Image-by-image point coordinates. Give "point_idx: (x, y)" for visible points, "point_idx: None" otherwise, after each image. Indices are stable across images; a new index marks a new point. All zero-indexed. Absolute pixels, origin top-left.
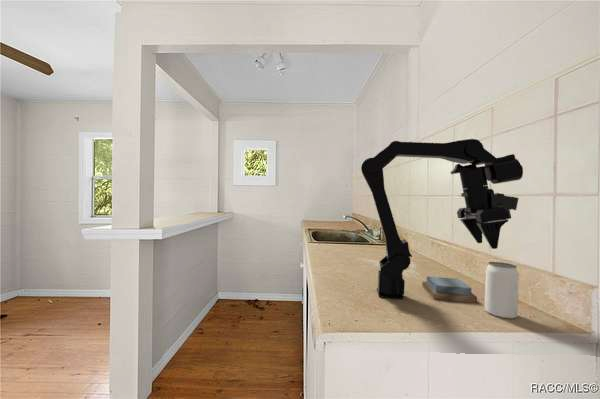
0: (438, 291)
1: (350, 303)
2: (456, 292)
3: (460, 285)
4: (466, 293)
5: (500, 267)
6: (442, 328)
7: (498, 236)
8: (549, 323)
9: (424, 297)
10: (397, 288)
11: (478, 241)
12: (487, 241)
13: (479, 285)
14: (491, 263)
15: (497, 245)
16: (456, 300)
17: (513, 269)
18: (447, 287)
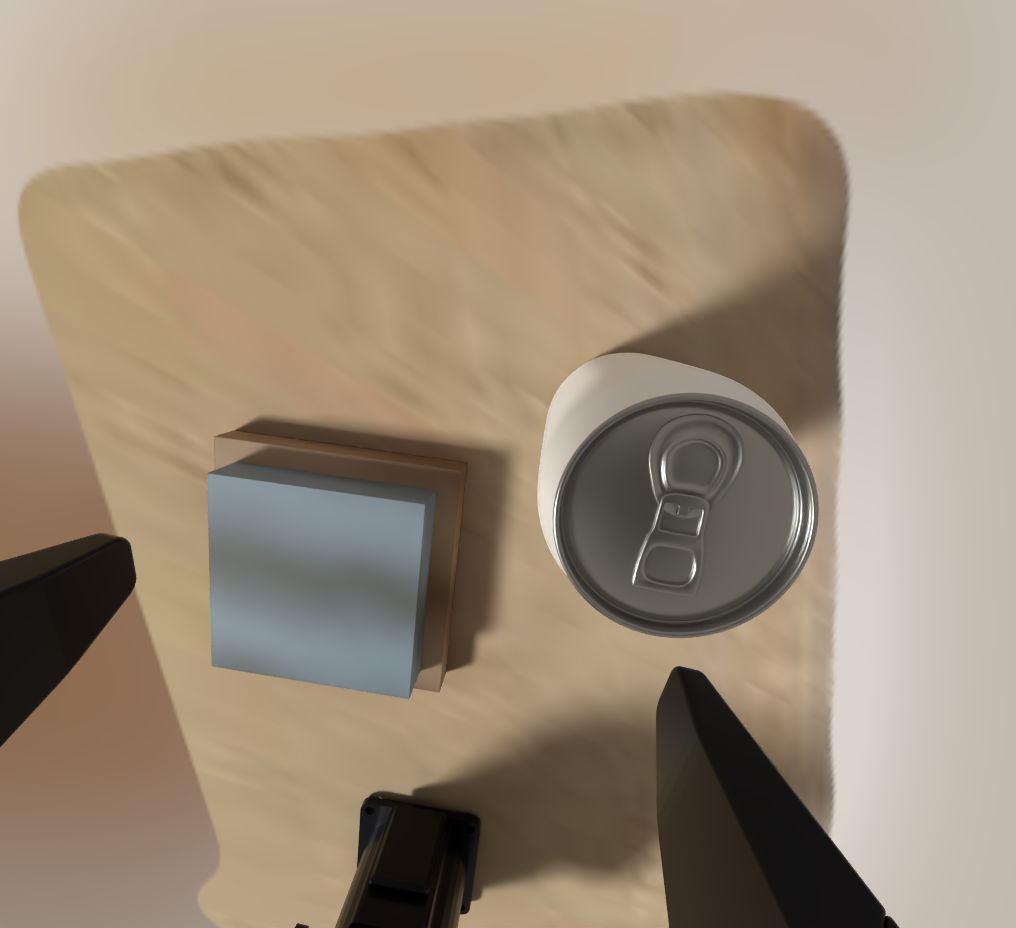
0: (419, 663)
1: None
2: (427, 574)
3: (380, 548)
4: (431, 519)
5: (766, 594)
6: (797, 790)
7: (856, 888)
8: (741, 230)
9: (429, 705)
10: (452, 880)
11: (114, 597)
12: (667, 863)
13: (99, 229)
14: (568, 555)
15: (725, 706)
16: (456, 565)
17: (803, 483)
18: (416, 635)
